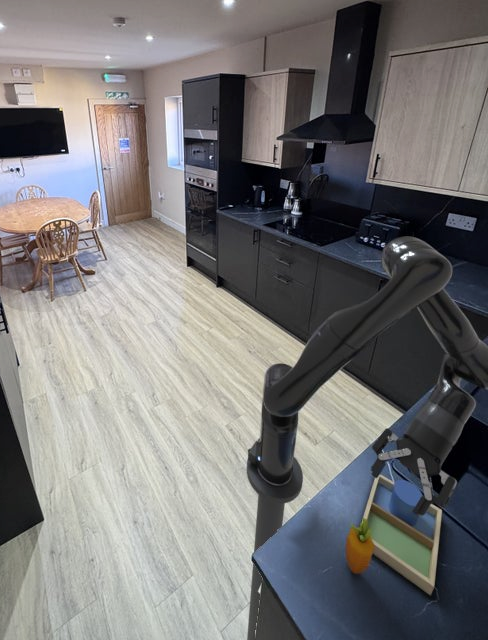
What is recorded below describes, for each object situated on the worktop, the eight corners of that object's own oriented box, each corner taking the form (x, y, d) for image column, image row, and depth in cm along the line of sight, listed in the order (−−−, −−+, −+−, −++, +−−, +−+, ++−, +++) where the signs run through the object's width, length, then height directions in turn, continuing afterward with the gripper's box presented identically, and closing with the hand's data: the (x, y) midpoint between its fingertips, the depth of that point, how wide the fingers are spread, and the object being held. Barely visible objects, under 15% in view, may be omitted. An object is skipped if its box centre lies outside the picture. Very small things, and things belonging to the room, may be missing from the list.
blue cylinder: (386, 513, 79) (391, 494, 76) (391, 493, 83) (396, 474, 81) (415, 532, 75) (422, 512, 73) (419, 510, 79) (425, 491, 77)
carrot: (355, 592, 66) (367, 546, 61) (335, 564, 70) (345, 518, 65) (372, 579, 68) (384, 533, 63) (352, 552, 72) (362, 507, 67)
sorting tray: (356, 542, 74) (358, 533, 73) (374, 480, 87) (376, 472, 86) (430, 596, 65) (434, 586, 64) (439, 518, 78) (442, 510, 77)
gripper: (395, 402, 73) (356, 463, 72) (471, 453, 62) (426, 527, 60) (404, 410, 78) (367, 468, 76) (477, 460, 66) (435, 529, 64)
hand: (393, 494), depth 68 cm, fingers open, 8 cm apart
